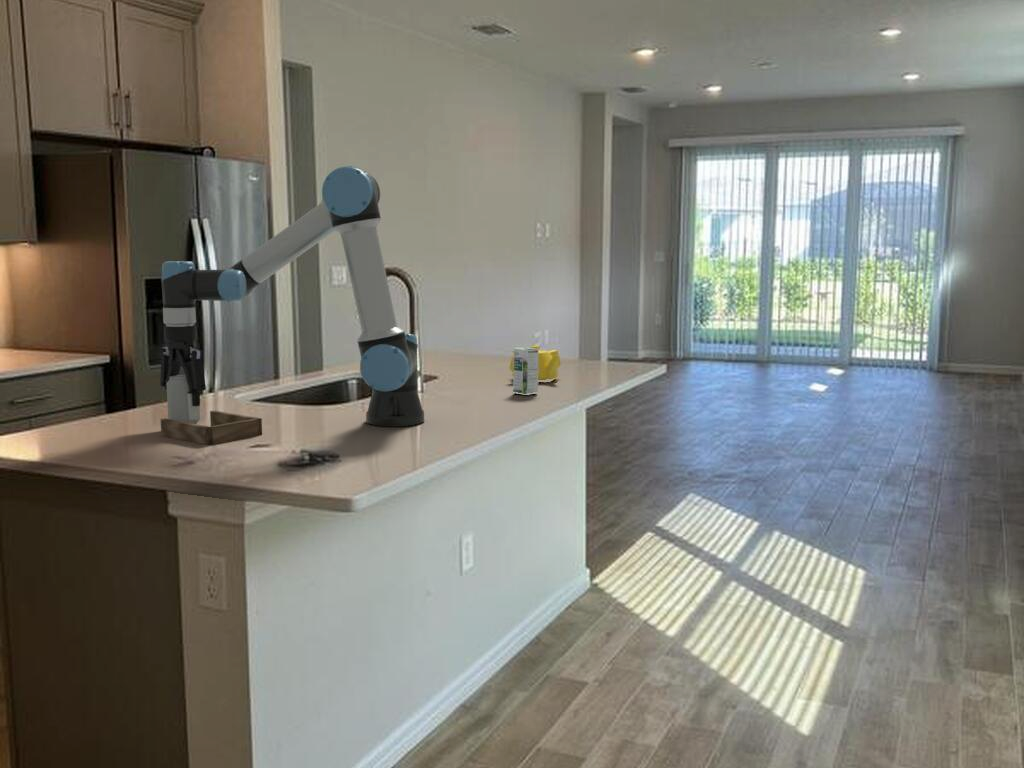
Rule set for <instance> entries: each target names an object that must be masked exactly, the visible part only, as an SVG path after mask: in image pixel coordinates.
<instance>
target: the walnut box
mask: <svg viewBox="0 0 1024 768" xmlns="http://www.w3.org/2000/svg"><path fill="white" fill-rule="evenodd" d="M209 416H210V417H209V418H210V419H209V420H210V426H208V425H203V424H198V423H197V424H192V423H187V422H182V421H176V420H171V419H168V418H160V435H161V436H163V437H167V438H171V439H176V440H181V441H182V440H183V441H187V442H191V443H196V444H201V445H207V446H211V445H217V444H223V443H226V442H231V441H237V440H242V439H247V438H253V437H256V436H262V435H263V425H262V424H263V422H262V420H263V419H262V418H261V417H256V416H255V417H254V416H248V415H243V414H237V413H231V412H225V411H219V410H210V411H209Z"/></svg>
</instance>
